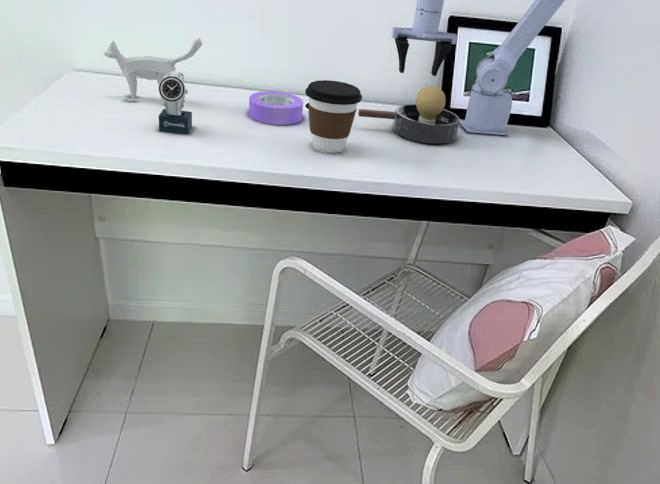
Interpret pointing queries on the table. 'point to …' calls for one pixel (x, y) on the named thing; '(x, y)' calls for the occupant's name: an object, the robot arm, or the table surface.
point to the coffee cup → (331, 113)
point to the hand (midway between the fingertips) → (417, 73)
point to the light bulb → (430, 103)
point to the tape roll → (275, 108)
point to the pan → (425, 125)
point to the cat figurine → (147, 65)
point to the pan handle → (376, 114)
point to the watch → (174, 104)
